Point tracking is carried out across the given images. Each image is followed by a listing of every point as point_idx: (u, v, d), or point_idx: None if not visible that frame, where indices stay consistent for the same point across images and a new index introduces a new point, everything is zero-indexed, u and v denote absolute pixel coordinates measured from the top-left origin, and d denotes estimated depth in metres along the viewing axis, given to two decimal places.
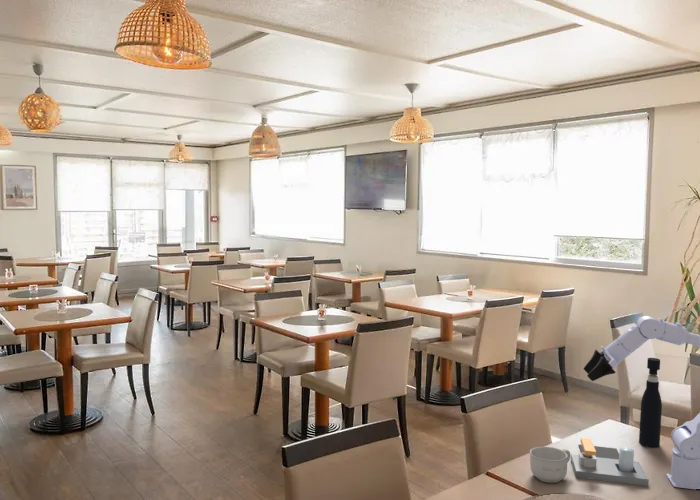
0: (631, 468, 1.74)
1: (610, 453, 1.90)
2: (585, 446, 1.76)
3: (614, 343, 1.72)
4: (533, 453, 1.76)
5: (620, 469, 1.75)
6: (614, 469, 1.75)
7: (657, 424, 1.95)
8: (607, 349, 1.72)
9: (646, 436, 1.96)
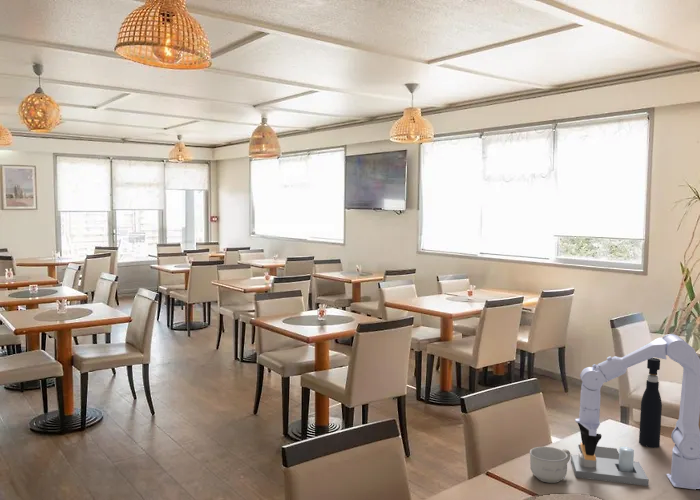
0: (631, 468, 1.74)
1: (610, 453, 1.90)
2: None
3: (581, 411, 1.77)
4: (533, 453, 1.76)
5: (620, 469, 1.75)
6: (614, 469, 1.75)
7: (657, 424, 1.95)
8: (581, 420, 1.77)
9: (646, 436, 1.96)
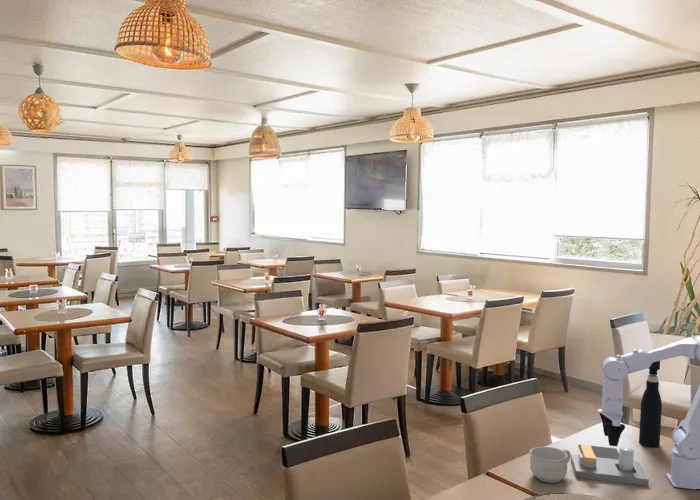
0: (631, 468, 1.74)
1: (610, 453, 1.90)
2: (585, 452, 1.76)
3: (603, 401, 1.75)
4: (533, 453, 1.76)
5: (620, 469, 1.75)
6: (614, 469, 1.75)
7: (657, 424, 1.95)
8: (603, 411, 1.75)
9: (646, 436, 1.96)
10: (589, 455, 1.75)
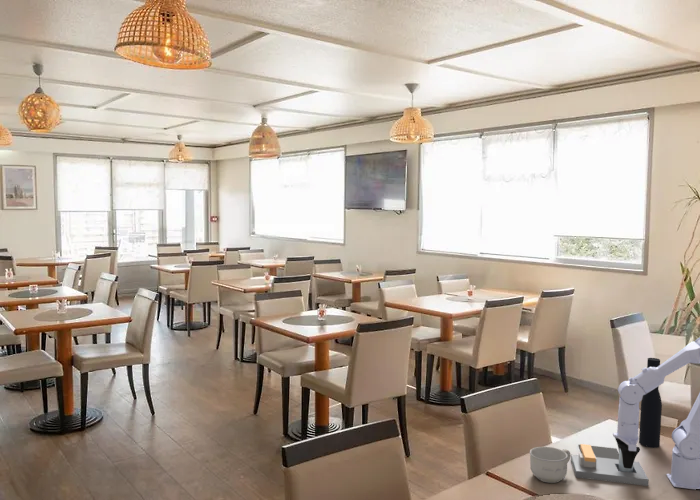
0: (631, 468, 1.74)
1: (610, 453, 1.90)
2: (585, 452, 1.76)
3: (619, 425, 1.74)
4: (533, 453, 1.76)
5: (620, 469, 1.75)
6: (614, 469, 1.75)
7: (657, 424, 1.95)
8: (619, 435, 1.74)
9: (646, 436, 1.96)
10: (589, 455, 1.75)
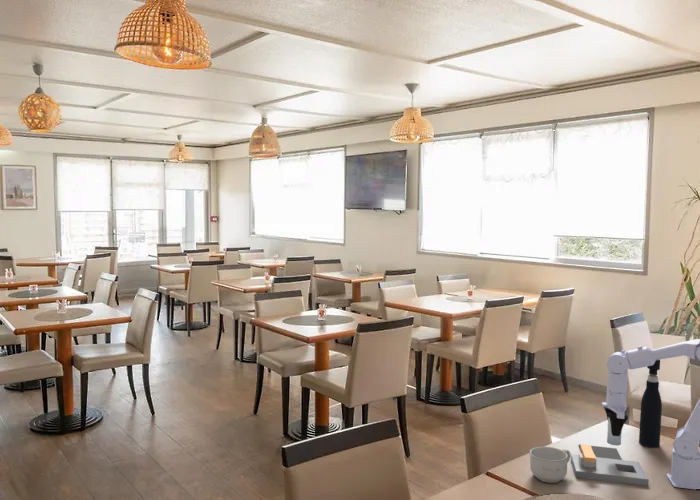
0: (619, 436, 1.80)
1: (610, 453, 1.90)
2: (585, 452, 1.76)
3: (608, 395, 1.80)
4: (533, 453, 1.76)
5: (609, 437, 1.81)
6: (614, 469, 1.75)
7: (657, 424, 1.95)
8: (608, 404, 1.80)
9: (646, 436, 1.96)
10: (589, 455, 1.75)
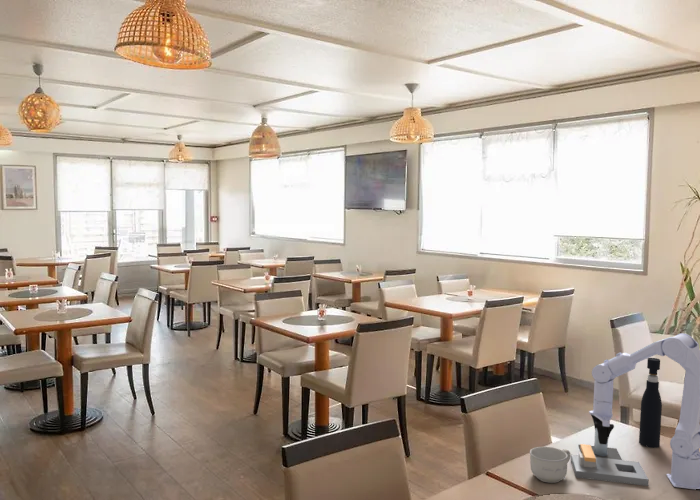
0: (605, 447, 1.88)
1: (610, 453, 1.90)
2: (585, 452, 1.76)
3: (594, 403, 1.88)
4: (533, 453, 1.76)
5: (595, 448, 1.89)
6: (614, 469, 1.75)
7: (657, 424, 1.95)
8: (594, 412, 1.88)
9: (646, 436, 1.96)
10: (589, 455, 1.75)
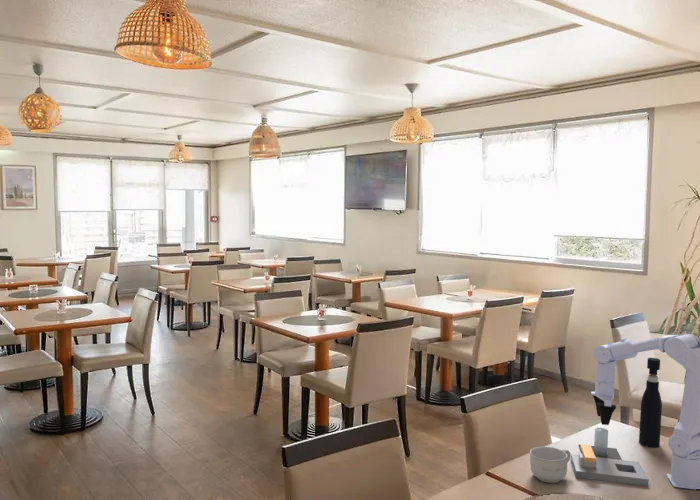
0: (605, 447, 1.88)
1: (610, 453, 1.90)
2: (585, 452, 1.76)
3: (596, 384, 1.91)
4: (533, 453, 1.76)
5: (595, 448, 1.89)
6: (614, 469, 1.75)
7: (657, 424, 1.95)
8: (596, 393, 1.91)
9: (646, 436, 1.96)
10: (589, 455, 1.75)
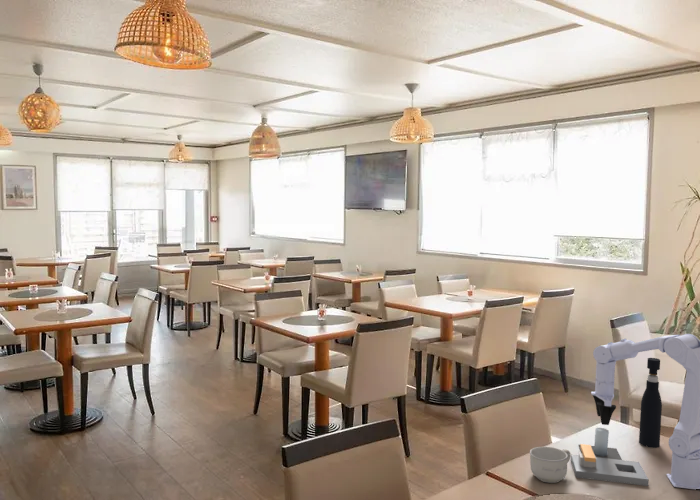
0: (605, 447, 1.88)
1: (610, 453, 1.90)
2: (585, 452, 1.76)
3: (596, 384, 1.91)
4: (533, 453, 1.76)
5: (595, 448, 1.89)
6: (614, 469, 1.75)
7: (657, 424, 1.95)
8: (596, 393, 1.91)
9: (646, 436, 1.96)
10: (589, 455, 1.75)
